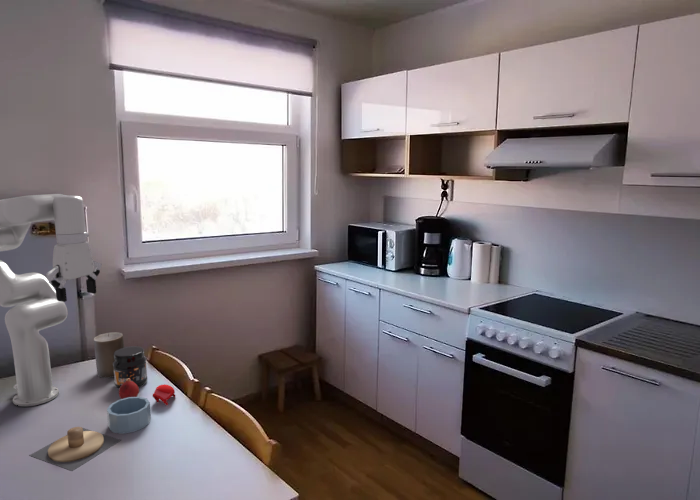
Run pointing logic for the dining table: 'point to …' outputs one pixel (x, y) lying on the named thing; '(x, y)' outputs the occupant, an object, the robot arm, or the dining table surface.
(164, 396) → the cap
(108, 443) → the mat
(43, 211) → the robot arm
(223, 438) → the dining table surface
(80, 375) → the dining table surface
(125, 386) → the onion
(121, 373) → the supplement container
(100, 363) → the pillar candle
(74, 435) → the lid
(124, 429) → the bowl
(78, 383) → the dining table surface
